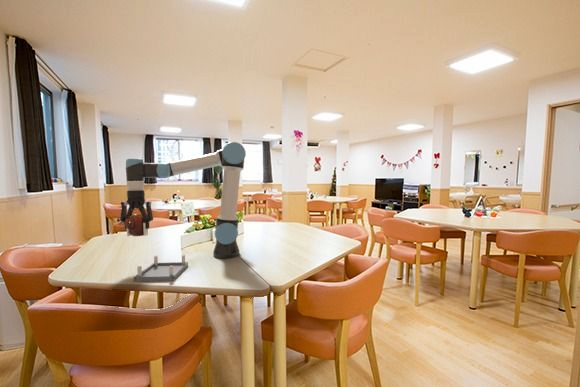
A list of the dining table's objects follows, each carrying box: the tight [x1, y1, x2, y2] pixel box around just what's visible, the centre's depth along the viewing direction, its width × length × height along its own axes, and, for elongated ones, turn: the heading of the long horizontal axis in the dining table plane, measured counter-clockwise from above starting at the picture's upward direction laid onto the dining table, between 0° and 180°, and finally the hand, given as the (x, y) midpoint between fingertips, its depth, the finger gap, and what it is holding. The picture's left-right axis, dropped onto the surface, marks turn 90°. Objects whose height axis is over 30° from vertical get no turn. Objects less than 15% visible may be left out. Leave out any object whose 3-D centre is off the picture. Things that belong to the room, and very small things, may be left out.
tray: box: [133, 254, 189, 283], centre depth 125 cm, size 17×20×6 cm
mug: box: [124, 213, 148, 237], centre depth 131 cm, size 12×9×10 cm
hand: (137, 235), depth 131 cm, fingers closed on mug, 7 cm apart
